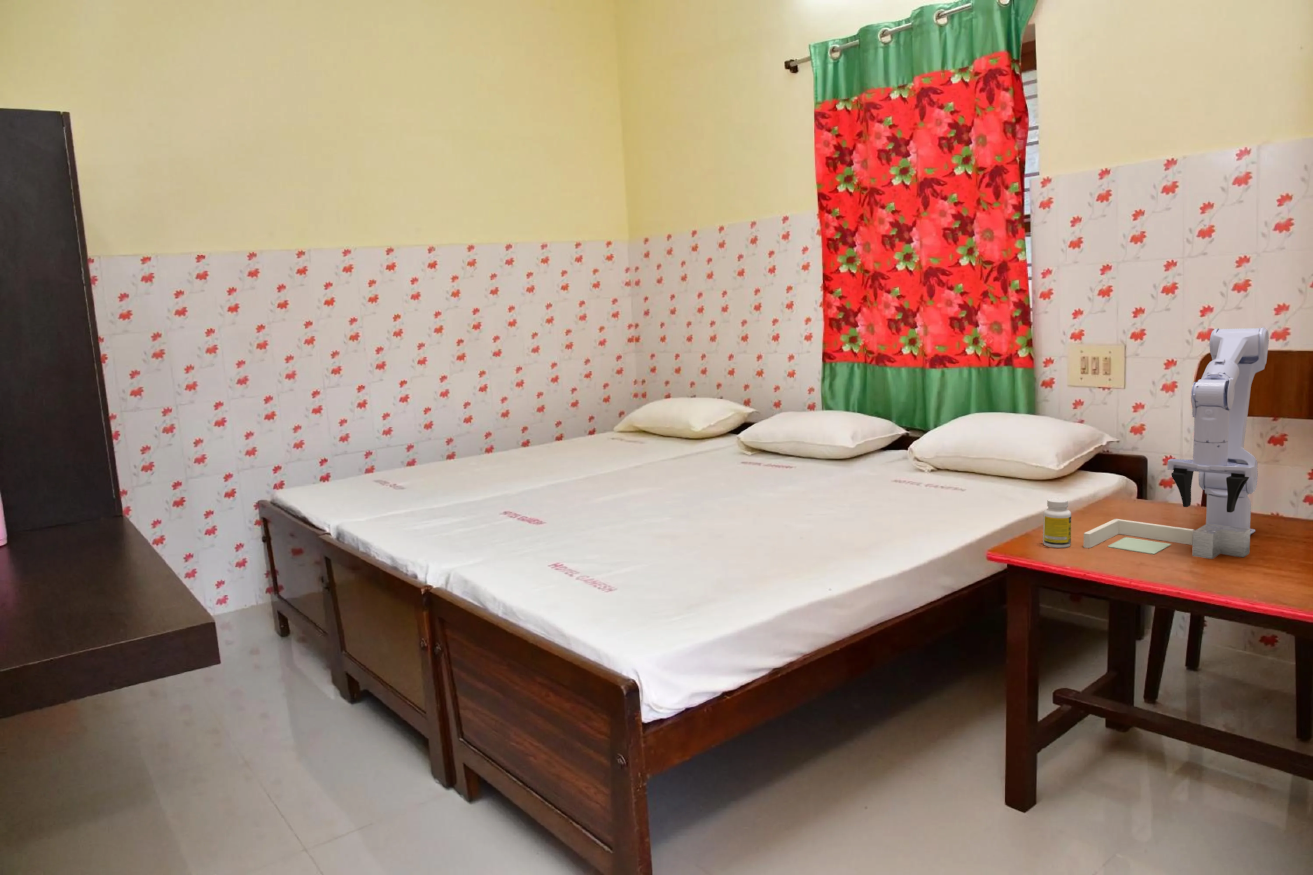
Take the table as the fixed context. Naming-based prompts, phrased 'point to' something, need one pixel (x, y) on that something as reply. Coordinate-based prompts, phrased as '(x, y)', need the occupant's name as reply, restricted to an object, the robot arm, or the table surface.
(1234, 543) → the bracket
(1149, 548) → the mat
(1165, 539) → the arena
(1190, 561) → the table surface
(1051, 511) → the supplement bottle
